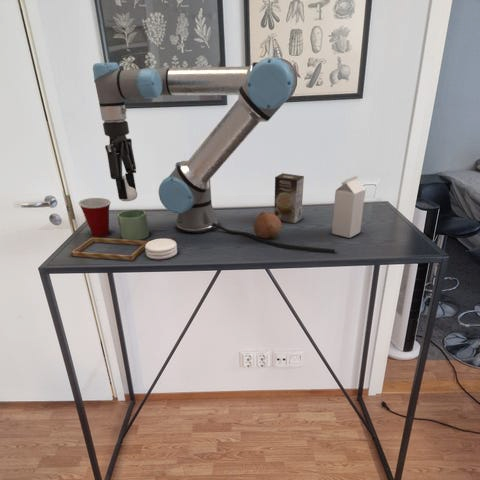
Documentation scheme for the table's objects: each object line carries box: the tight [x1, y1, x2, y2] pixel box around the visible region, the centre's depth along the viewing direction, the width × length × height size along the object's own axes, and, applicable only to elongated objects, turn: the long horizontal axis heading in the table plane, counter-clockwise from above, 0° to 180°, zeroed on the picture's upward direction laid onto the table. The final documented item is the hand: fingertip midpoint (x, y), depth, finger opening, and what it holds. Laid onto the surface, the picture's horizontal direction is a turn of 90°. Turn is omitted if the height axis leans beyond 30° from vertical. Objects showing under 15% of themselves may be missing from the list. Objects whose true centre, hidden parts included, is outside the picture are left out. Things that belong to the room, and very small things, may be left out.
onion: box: [253, 211, 283, 241], centre depth 142 cm, size 10×9×10 cm
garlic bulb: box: [117, 174, 138, 202], centre depth 141 cm, size 6×6×8 cm
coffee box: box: [273, 172, 305, 224], centre depth 157 cm, size 9×6×16 cm
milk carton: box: [331, 174, 366, 239], centre depth 141 cm, size 7×7×19 cm
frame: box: [70, 237, 149, 261], centre depth 139 cm, size 21×13×1 cm, turn 76°
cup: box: [117, 209, 150, 241], centre depth 148 cm, size 10×10×8 cm
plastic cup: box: [78, 197, 112, 238], centre depth 150 cm, size 11×11×12 cm
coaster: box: [144, 238, 178, 261], centre depth 135 cm, size 10×10×4 cm
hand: (128, 195), depth 142 cm, fingers closed on garlic bulb, 6 cm apart
